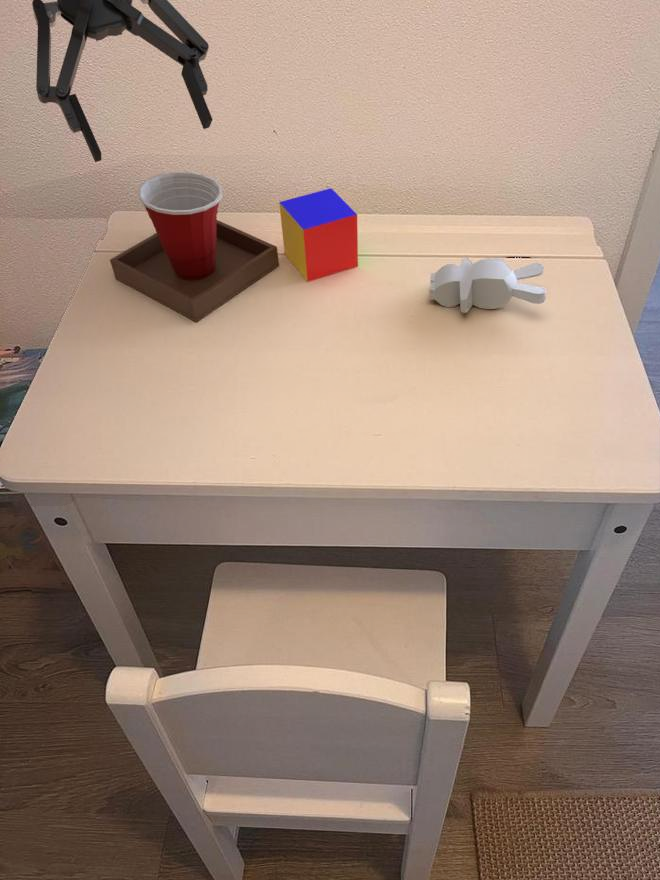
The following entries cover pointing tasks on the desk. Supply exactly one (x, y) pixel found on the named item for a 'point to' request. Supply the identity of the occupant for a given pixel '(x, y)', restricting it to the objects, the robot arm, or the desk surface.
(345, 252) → the cube
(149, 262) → the tray
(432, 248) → the desk surface
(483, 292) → the bunny figurine
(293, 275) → the desk surface
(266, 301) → the desk surface
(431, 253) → the desk surface
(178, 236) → the plastic cup
